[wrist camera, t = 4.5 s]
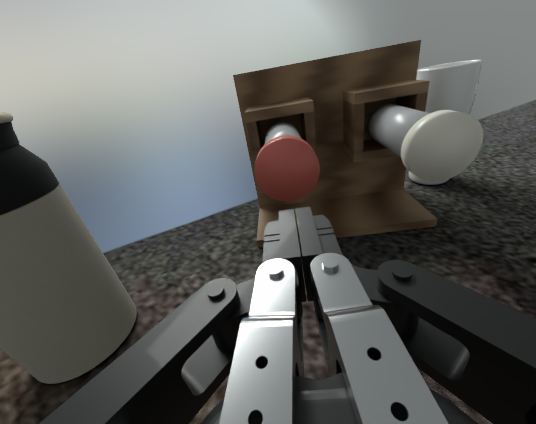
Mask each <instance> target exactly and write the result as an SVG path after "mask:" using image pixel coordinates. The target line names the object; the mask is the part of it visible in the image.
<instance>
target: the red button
mask: <svg viewBox="0 0 536 424" xmlns="http://www.w3.org/2000/svg"><path fill="white" fill-rule="evenodd" d="M254 173H255V179H256V182H257V184H258V186H259V188H260V189H261V190H262V191H263V192H264V193H265V194H266V195H267V196H269V197H270V198H272V199H275V200H278V201H294V200H297V199H300V198H302V197H304V196H306V195H307V194H308V193H309V192H310V191H311V190H312V189H313V188H314V187H315V185H316V183H317V181H318V178H319V174H320V165H319V161H318V158H317V156H316V154H315V152H314V150H313V149H312V147H311V146H310V145H309V144H308V143H307V142H306V141H304V140H303V139H301V137H300V134H299V132H298V130H297V129H296V128H295V127H294V126H293V125H292V124H290V123H287V122H280V123H276V124H274V125H273V126H272V127H270V129H269V130H268V132H267V134H266V137H265V145H264V146H263V147H262V148H261V150H260V151H259V153H258V155H257V159H256V163H255V169H254Z"/></svg>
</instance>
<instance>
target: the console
mask: <svg viewBox="0 0 536 424" xmlns="http://www.w3.org/2000/svg"><path fill="white" fill-rule="evenodd" d="M420 44H421V40H418V41H413V42H407V43H402V44H397V45H392V46H387V47H382V48H376V49H370V50H365V51H360V52H355V53H349V54H345V55H339V56H333V57H328V58H323V59H317V60H313V61H307V62H302V63H296V64H291V65H286V66H280V67H275V68H270V69H264V70H259V71H254V72H248V73H243V74H238V75H233V77H234V81H235V87H236V92H237V97H238V102H239V106H240V112H241V116H242V121H243V126H244V131H245V136H246V141H247V146H248V151H249V156H250V161H251V166H252V171H253V176H254V181H255V186H256V191H257V195H258V201H259V205H260V213H259V223H258V232H257V244H258V247H263V246H264V228H265V227H266V226H267V224H268V223H269V222H273V221H279V210H286V209H294V215H295V222H296V214H295V208H301V207H308V206H310V208H311V212H312V215H313V216H318V215H323V216H325V217H326V218H327V219H328V220H329V221H330V223H331V226H332V229H333V231H334V234H335V236H336V238H343V237H351V236H360V235H368V234H377V233H385V232H394V231H402V230H411V229H419V228H428V227H436V224H437V218H436V217H435V216H434V215H433V214H432V213H430V212H429V211H428V210H427V209H426V208H425V207H424V206H422V205H421V204H420V203H419V202H418V201H417V200H416V199H414V198H413V197H412V196H411V195H410V194H409V193H408V192H407V191H405V190H404V180H405V172H406V167H405V166H404V164H403V162H402V159H401V157H400V156H399V155H397V154H395V153H394V152H392V151H391V150H389V149H388V148H386V147H385V146H383V145H382V144H380V143H378V142H377V141H375V140H374V139H373V138H372V137H371V136H370V134H369V131H368V124H369V120H370V118H371V116H372V115H373V113H374V112H375V111H376V110H377V109H379V108H380V107H382V106H384V105H388V104H394V105H399V106H403V107H407V108H411V109H415V110H419V111H423V112H425V110H426V103H427V96H428V89H429V82H430V80H416V78H417V70H418V61H419V53H420ZM280 122H287V123H290V124H292V125H293V126H294V127H295V128H296V129H297V130H298V132H299V134H300V137H301V139H303V140H304V141H306V142H307V143H308V144H309V145H310V146H311V147H312V149H313V150H314V152H315V154H316V156H317V158H318V161H319V165H320V174H319V178H318V181H317V183H316V185H315V187H314V188H313V189H312V190H311V191H310V192H309V193H308V194H307V195H306V196H304V197H302V198H300V199H297V200H294V201H278V200H275V199H272V198H270V197H269V196H267V195H266V194H265V193H264V192H263V191H262V190H261V189H260V188H259V186H258V184H257V182H256V179H255V173H254V169H255V163H256V159H257V155H258V153H259V151H260V150H261V148H262V147H263V146H264V145H265V137H266V134H267V132H268V130H269V129H270V127H272V126H273V125H274V124H276V123H280ZM296 228H297V222H296ZM297 235H298V230H297ZM298 242H299V238H298Z"/></svg>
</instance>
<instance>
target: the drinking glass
mask: <svg viewBox="0 0 536 424" xmlns="http://www.w3.org/2000/svg"><path fill="white" fill-rule="evenodd" d="M481 66H482V60H469V61H461V62H453V63H446V64H439V65H434V66H428V67H423V68H419V69H418V70H417V78H416V80H430V82H429V89H428V96H427V103H426V110H425V112H427V113H433V112H436V111H440V110H453V111H458V112H463V113H467V114H470V112H471V109H472V106H473V103H474V99H475V96H476V92H477V88H478V83H479V78H480V72H481ZM409 178H410V179H411V180H412V181H414V182H416V183H420V184H425V185H437V184H442V183H445V182H447V181H448V180H449V179H450V178H449V179H446V180H443V181H435V182H433V181H425V180H422V179H420V178H419V177H417V176H416V175H414V174H413V173H412V172H410V171H409Z"/></svg>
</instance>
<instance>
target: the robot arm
mask: <svg viewBox="0 0 536 424" xmlns="http://www.w3.org/2000/svg"><path fill="white" fill-rule="evenodd" d="M295 214H296V222H297V228H296V222H295V215H294V209H286V210H279V221H273V222H269V223H268V224H267V226H266V227H265V228H264V246H263V263H262V265H261V266H260V267H259V268H258V270H257V274H256V276H255V277H254V278H252V279H250V280H248V281H246V282H243V283H241V284H238V285H235V283H234V282H233V281H232V280H230V279H226V278H219V279H215V280H212V281H210V282H208V283H207V284H205V285H204V286H203V287H202V288H200V289H199V290H198V291H197V292H196V293H194V294H193V295H192V296H191V297H190V298H188V299H187V300H186V301H185V302H184V303H182V304H181V305H180V306H179V307H178V308H176V309H175V310H174V311H173V312H172V313H170V314H169V315H168V316H167V317H166V318H165V319H163V320H162V321H161V322H160V323H159V324H157V325H156V326H155V327H154V328H153V329H151V330H150V331H149V332H148V333H147V334H145V335H144V336H143V337H142V338H141V339H139V340H138V341H137V342H136V343H135V344H133V345H132V346H131V347H130V348H129V349H127V350H126V351H125V352H124V353H123V354H122V355H120V356H119V357H118V358H117V359H116V360H114V361H113V362H112V363H111V364H110V365H108V366H107V367H106V368H105V369H104V370H102V371H101V372H100V373H99V374H98V375H96V376H95V377H94V378H93V379H92V380H90V381H89V382H88V383H87V384H86V385H84V386H83V387H82V388H81V389H80V390H78V391H77V392H76V393H75V394H74V395H73V396H71V397H70V398H69V399H68V400H67V401H65V402H64V403H63V404H62V405H61V406H59V407H58V408H57V409H56V410H55V411H53V412H52V413H51V414H50V415H49V416H47V417H46V418H45V419H44V420H43V421H41V422H40V423H39V424H189V423H190V421H191V420H192V419H193V418H194V417H195V415H196V414H197V413H198V412H199V410H200V409H201V408H202V407H203V406H204V404H205V403H206V402H207V401H208V399H209V398H210V397H211V396H212V394H213V393H214V392H215V391H216V390H217V388H218V387H219V386H220V385H221V383H222V382H223V381H224V380H225V379H226V377H227V376H228V375H229V374H230V375H229V380H228V384H227V389H226V394H225V398H224V399H223V400H222V401H221V402H220V403H219V404H217V405H216V406H215V407H214V408H213V409H212V411H211V412H210V413H209V414H208V415H207V416H206V418H205V419H204V420H203V422H202V423H201V424H478V423H477V422H475V421H474V420H473V419H472V418H470V417H469V416H468V415H467V414H465V413H464V412H463V411H462V410H460V409H459V408H458V407H457V406H455V405H454V404H453V403H452V402H450V401H449V400H447V399H446V398H444V397H443V396H441V395H440V394H438V393H437V392H435V391H433V390H431V389H430V388H428V386H427V385H426V383H425V381H424V379H423V378H422V376H421V374H420V372H419V371H418V369H417V367H418V368H419V369H420V370H422V371H423V372H424V373H426V374H427V375H428V376H430V377H431V378H432V379H434V380H435V381H436V382H438V383H439V384H440V385H442V386H443V387H444V388H446V389H447V390H448V391H450V392H451V393H453V394H454V395H455V396H457V397H458V398H459V399H461V400H462V401H463V402H465V403H466V404H467V405H469V406H470V407H471V408H473V409H474V410H475V411H477V412H478V413H479V414H481V415H482V416H483V417H485V418H486V419H487V420H489V421H490V422H491V423H493V424H536V319H535V318H533V317H530V316H528V315H526V314H524V313H521V312H519V311H517V310H515V309H513V308H510V307H508V306H506V305H504V304H501V303H499V302H497V301H495V300H493V299H490V298H488V297H486V296H484V295H481V294H479V293H477V292H475V291H472V290H470V289H468V288H466V287H464V286H461V285H459V284H457V283H455V282H452V281H450V280H448V279H446V278H444V277H441V276H439V275H437V274H435V273H432V272H430V271H428V270H426V269H424V268H421V267H419V266H417V265H415V264H412V263H410V262H407V261H402V260H390V261H386V262H384V263H382V264H381V265H380V266H379V267H378V270H372V269H365V268H360V267H357V266H354V265H352V264H351V263H350V262H349V260H348V259H347V258H345V257H344V256H343V255H342V252H341V250H340V247H339V244H338V242H337V239H336V236H335V234H334V231H333V229H332V226H331V223H330V221H329V220H328V219H327V218H326V217H325V216H323V215H318V216H313V215H312V212H311V208H310V206H308V207H301V208H295ZM297 230H298V235H297ZM298 238H299V242H298ZM299 245H300V248H299ZM300 252H301V255H300ZM301 258H302V263H301ZM302 265H303V271H304V278H305V284H306V291H307V297H308V301H314V307H315V315H316V321H317V325H318V329H319V333H320V337H321V340H322V344H323V348H324V352H325V356H326V359H327V363H328V367H329V372H330V377H328V378H325V379H323V380H314V379H309V378H305V377H304V360H303V328H302V314H303V310H302V302H305V301H306V294H305V286H304V279H303V271H302ZM419 317H420V318H419ZM422 319H423V320H422ZM424 320H425V321H424ZM427 322H428V323H427ZM429 323H430V324H429ZM432 325H433V326H432ZM434 326H435V327H434ZM437 328H438V329H437ZM439 329H440V330H439ZM442 331H443V332H442ZM444 332H445V333H444ZM447 334H448V335H447ZM449 335H450V336H449ZM451 336H452V337H451ZM454 338H455V339H454Z"/></svg>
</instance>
